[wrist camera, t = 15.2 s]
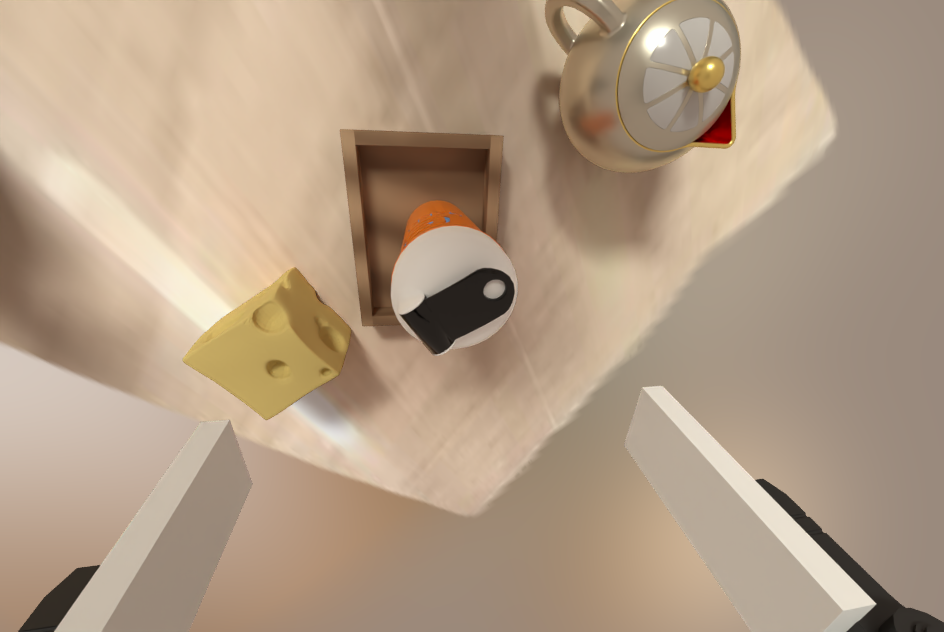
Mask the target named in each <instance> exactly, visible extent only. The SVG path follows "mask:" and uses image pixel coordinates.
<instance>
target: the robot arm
mask: <svg viewBox="0 0 944 632" xmlns="http://www.w3.org/2000/svg"><path fill="white" fill-rule="evenodd" d="M624 446H625V447H626V449H627V450H628V452H629V453H630V454H631V456H632V457H633V459H634V460H635V462H636V463H637V465H638V466H639V468H640V469H641V471H642V472H643V473H644V475H645V476H646V478H647V479H648V481H649V482H650V484H651V485H652V487H653V488H654V490H655V491H656V493H657V494H658V495H659V497H660V499H661V500H662V501H663V503H664V504H665V506H666V507H667V509H668V510H669V512H670V513H671V515H672V516H673V518H674V519H675V520H676V522H677V523H678V525H679V526H680V528H681V529H682V531H683V532H684V534H685V535H686V536H687V538H688V540H689V541H690V543H691V544H692V545H693V547H694V548H695V550H696V551H697V553H698V554H699V556H700V557H701V559H702V560H703V562H704V563H705V564H706V566H707V568H708V569H709V570H710V572H711V573H712V575H713V576H714V578H715V579H716V581H717V582H718V584H719V585H720V587H721V588H722V590H723V591H724V592H725V594H726V595H727V597H728V598H729V600H730V601H731V602H732V604H733V606H734V607H735V609H736V610H737V612H738V613H739V615H740V616H741V617H742V619H743V620H744V622H745V623H746V625H747V626H748V628H749V629H750V630H751V632H944V622H942V621H940V620H938V619H936V618H935V617H933V616H931V615H929V614H927V613H925V612H921V611H918V610H915V609H912V608H905V607H904V606H902V605H901V604H900V603H899V602H898V601H896V600H895V599H894V598H893V597H892V596H891V595H889V594H888V593H887V592H886V591H885V590H884V589H883V588H882V587H881V586H880V585H879V584H878V583H877V582H876V581H875V580H874V579H873V578H872V577H871V576H870V575H869V574H868V573H867V572H866V571H865V570H864V569H863V568H862V567H861V566H860V565H858V563H857V562H855V561H854V560H853V559H852V558H851V557H850V556H849V555H848V554H847V553H846V552H845V551H844V550H843V549H842V548H841V547H840V546H839V545H838V544H837V543H836V542H835V541H834V540H833V539H832V538H831V537H830V536H829V535H828V534H827V533H823V532H822V529H821V528H820V527H819V526H818V525H817V524H816V523H815V522H814V521H813V520H812V519H811V518H810V517H807V516H806V514H805V512H804V511H803V510H802V509H801V508H800V507H799V506H798V505H797V504H796V503H795V502H794V501H793V500H791V498H789V497H788V496H787V495H786V494H785V493H784V492H782V491H780V490H779V489H778V488H776V487H775V486H773V485H772V484H770V483H769V482H767V481H766V480H764V479H758V480H754V479H753V478H752V477H751V476H750V475H749V474H748V473H747V472H746V471H745V470H744V469H743V468H742V467H741V466H740V465H739V464H738V463H737V462H736V461H735V460H734V458H733V457H732V456H731V455H730V454H728V452H727V451H726V450H725V449H724V448H723V447H722V446H721V445H720V444H719V443H718V442H717V441H716V440H715V439H714V438H713V437H712V436H711V435H710V434H709V433H708V432H707V431H706V430H705V429H704V428H703V427H702V426H701V425H700V424H699V423H698V422H697V421H696V420H695V419H694V418H693V417H692V416H691V415H690V414H689V413H688V412H687V411H686V410H685V409H684V408H683V407H682V406H681V405H680V404H679V403H678V402H677V401H676V399H675V398H673V397H672V396H671V394H670V393H669V392H667V390H666V389H664V387H663V386H654V387H642V389H641V392H640V396H639V399H638V402H637V405H636V408H635V412H634V415H633V418H632V421H631V425H630V428H629V431H628V434H627V437H626V440H625V444H624ZM251 486H252V481H251V478H250V475H249V472H248V470H247V467H246V464H245V461H244V458H243V456H242V453H241V450H240V447H239V444H238V442H237V439H236V436H235V433H234V430H233V428H232V425H231V422H230V420H219V421H206V422H200V424H199V425H198V426H197V428H196V429H195V431H194V432H193V434H192V435H191V436H190V438H189V439H188V441H187V442H186V444H185V445H184V447H183V448H182V450H181V451H180V452H179V454H178V455H177V457H176V458H175V459H174V461H173V462H172V464H171V465H170V467H169V468H168V470H167V471H166V472H165V474H164V475H163V477H162V478H161V479H160V481H159V482H158V484H157V485H156V487H155V488H154V489H153V491H152V493H151V494H150V495H149V497H148V498H147V499H146V501H145V502H144V504H143V505H142V507H141V508H140V510H139V511H138V512H137V514H136V515H135V517H134V518H133V519H132V521H131V522H130V524H129V525H128V527H127V528H126V530H125V531H124V532H123V534H122V535H121V537H120V538H119V540H118V541H117V542H116V544H115V545H114V547H113V548H112V550H111V551H110V553H109V554H108V555H107V557H106V558H105V560H104V561H103V562H102V564H101V565H97V566H90V567H82V568H77V569H76V570H74V571H73V572H72V573H71V574H70V575H69V576H68V577H67V578H66V579H64V580H63V581H62V582H61V583H60V584H59V585H58V586H57V587H55V588H54V589H53V590H52V591H51V592H50V593H49V594H48V595H46V596H45V597H44V599H43V600H42V601H41V602H40V604H39V605H38V606H37V608H36V609H35V610H34V612H33V613H32V614H31V615H30V617H29V618H28V619H27V621H26V622H25V623H24V625H23V626H22V627H21V628H20V630H19V631H18V632H189V630H190V627H191V625H192V623H193V620H194V618H195V616H196V613H197V611H198V609H199V606H200V604H201V602H202V599H203V597H204V595H205V593H206V590H207V588H208V586H209V583H210V581H211V579H212V577H213V574H214V572H215V569H216V567H217V565H218V562H219V560H220V558H221V556H222V553H223V551H224V549H225V546H226V544H227V542H228V540H229V537H230V535H231V533H232V530H233V528H234V526H235V523H236V521H237V519H238V516H239V514H240V512H241V509H242V507H243V505H244V503H245V500H246V498H247V496H248V493H249V491H250V489H251Z"/></svg>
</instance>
